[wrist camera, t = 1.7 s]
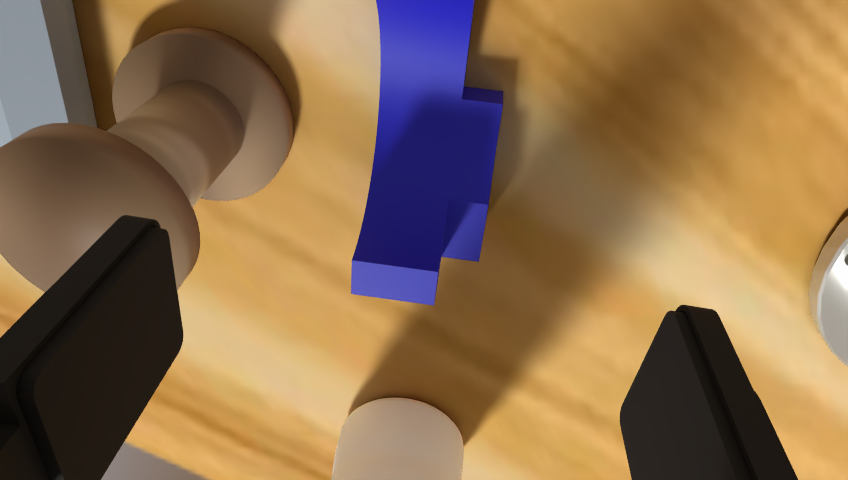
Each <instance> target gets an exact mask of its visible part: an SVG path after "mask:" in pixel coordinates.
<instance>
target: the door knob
mask: <svg viewBox="0 0 848 480" xmlns="http://www.w3.org/2000/svg"><path fill="white" fill-rule="evenodd" d="M112 102H113V110H114V114H115V118H116V122H117V124H115V125H114V126H113V127H111V128H110V129H109V130H107V131H105V130H102V129H99V128H96V127H91V126H87V125H83V124H74V123H52V124H46V125H41V126H38V127H35V128H33V129H30V130H28V131H27V132H25V133H23V134H21V135H20V136H18V137H16V138H15V139H13V140H12V141H10V142H8V143H7V144H5V145H3V146H2V147H0V254H1V255H2V256H3V257H4V258H5V259H6V261H7V262H8V263H9V264H10V265H11V266H12V267H13V268H14V269H15V270H16V271H17V272H19V273H20V274H21V275H22V276H23V277H25V278H26V279H27V280H28V281H30V282H31V283H32V284H34V285H35V286H37V287H38V288H39V289H41V290H43V291H44V292H46V291H47V290H48V289H49V288H50V287H51V286H52V285H53V284H54V283H55V282H56V281H57V280H58V279H59V278H60V277H61V276H62V275H63V274H64V273H65V272H66V271H67V270H68V269H69V268H70V267H71V266H72V265H73V264H74V263H75V262H76V261H77V260H78V259H79V258H80V257H81V256H82V255H83V254H84V253H85V252H86V251H87V250H88V249H89V248H90V247H91V246H92V245H93V244H94V243H95V242H96V241H97V240H98V239H99V238H100V237H101V236H102V235H103V234H104V233H105V232H106V231H107V230H108V229H109V228H110V227H111V226H112V224H113V223H114V222H115V221H116V220H117V219H118V218H120V217H121V216H123V215H130V216H136V217H142V218H149V219H155V220H157V221H158V222H159V224H160V227H161V228H162V229H166V230H167V231H168V234H169V238H170V245H171V252H172V259H173V266H174V273H175V280H176V287H177V290H178V289H179V287H180V286H181V284H182V283H183V282H184V280H185V279H186V278H187V276H188V275H189V273H190V272H191V271H192V269H193V267H194V265H195V263H196V261H197V257H198V254H199V248H200V232H199V227H198V222H197V219H196V216H195V213H194V210H193V208H192V207H193V206H194V205H195V204H196V203H197V201H198V200H199V199H200V198H201V199H206V200H214V201H230V200H237V199H241V198H245V197H248V196H250V195H252V194H255V193H256V192H258V191H260V190H261V189H263V188H264V187H265V186H266V185H267V184H269V183H270V182H271V180H272V179H273V178H274V177H275V175H276V174H277V173H278V171H279V170H280V168H281V167H282V165H283V163H284V162H285V160H286V158H287V157H288V154H289V152H290V149H291V145H292V141H293V131H294V125H293V116H292V111H291V106H290V103H289V100H288V97H287V95H286V93H285V91H284V89H283V87H282V85H281V83H280V81H279V80H278V78H277V77H276V75H275V74H274V73H273V71H272V70H271V69H270V67H269V66H268V65H267V64H266V63H265V62H264V61H263V60H262V59H261V58H260V57H259V56H258V55H257V54H256V53H254V52H253V51H252V50H251V49H250V48H248V47H247V46H245V45H244V44H242V43H240V42H239V41H237V40H235V39H233V38H231V37H229V36H227V35H225V34H222V33H219V32H217V31H213V30H209V29H205V28H197V27H179V28H174V29H169V30H166V31H164V32H161V33H158V34H157V35H155V36H153V37H151V38H150V39H148V40H146V41H144V42H143V43H141V44H139V45H137V46H136V47H135V48H134V49H132V50H131V51H130V52H129V53H128V54H127V55H126V57H125V58H124V59H123V60H122V62H121V64H120V66H119V68H118V70H117V72H116V75H115V78H114V83H113V89H112Z"/></svg>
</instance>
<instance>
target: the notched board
mask: <svg viewBox="0 0 848 480" xmlns="http://www.w3.org/2000/svg"><path fill="white" fill-rule="evenodd" d="M52 123H74V124H83V125H87V126H91V127H96V128H97V123H96V118H95V113H94V108H93V103H92V98H91V93H90V88H89V83H88V78H87V73H86V68H85V63H84V58H83V53H82V48H81V43H80V38H79V33H78V28H77V23H76V18H75V13H74V8H73V3H72V0H0V147H2V146H3V145H5V144H7V143H8V142H10V141H12V140H13V139H15V138H16V137H18V136H20V135H21V134H23V133H25V132H27V131H28V130H30V129H33V128H35V127H38V126H41V125H46V124H52Z"/></svg>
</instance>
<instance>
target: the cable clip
mask: <svg viewBox="0 0 848 480" xmlns="http://www.w3.org/2000/svg"><path fill="white" fill-rule="evenodd" d="M376 2H377V8H378V15H379V25H380V43H381V77H380V100H379V114H378V126H377V136H376V145H375V154H374V162H373V169H372V175H371V182H370V188H369V193H368V199H367V204H366V209H365V214H364V219H363V223H362V227H361V231H360V235H359V239H358V243H357V246H356V249H355V253H354V256H353V259H352V279H351V294H356V295H363V296H370V297H378V298H385V299H392V300H399V301H406V302H413V303H421V304H428V305H434V302H435V296H436V289H437V282H438V276H439V269H440V262H441V257H448V258H455V259H462V260H470V261H477V262H479V258H480V252H481V246H482V240H483V234H484V229H485V223H486V217H487V211H488V205H489V197H490V189H491V182H492V174H493V167H494V160H495V153H496V146H497V140H498V133H499V127H500V120H501V114H502V108H503V91H496V90H488V89H480V88H471V87H464V82H465V74H466V67H467V59H468V51H469V43H470V35H471V28H472V20H473V12H474V4H475V0H376Z"/></svg>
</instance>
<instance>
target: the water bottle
mask: <svg viewBox="0 0 848 480" xmlns="http://www.w3.org/2000/svg"><path fill="white" fill-rule="evenodd" d="M463 454H464V446H463V440H462V436H461V434H460V431H459V430H458V428H457V426H456V425H455V424H454V422H453V421H452V420H451V419H450V418H449V417H448V416H446V415H445V414H444V413H443V412H441V411H440V410H438V409H436V408H435V407H433V406H431V405H429V404H426V403H424V402H421V401H417V400H413V399H408V398H383V399H378V400H374V401H371V402H368V403H366V404H363V405H362V406H360V407H358V408H357V409H355V410H354V411H353V412H352V413H351V414H350V415H349V416H348V417H347V419H346V420H345V422H344V424H343V427H342V429H341V432H340V436H339V440H338V444H337V448H336V452H335V458H334V464H333V473H332V478H331V480H461V477H462V468H463Z"/></svg>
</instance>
